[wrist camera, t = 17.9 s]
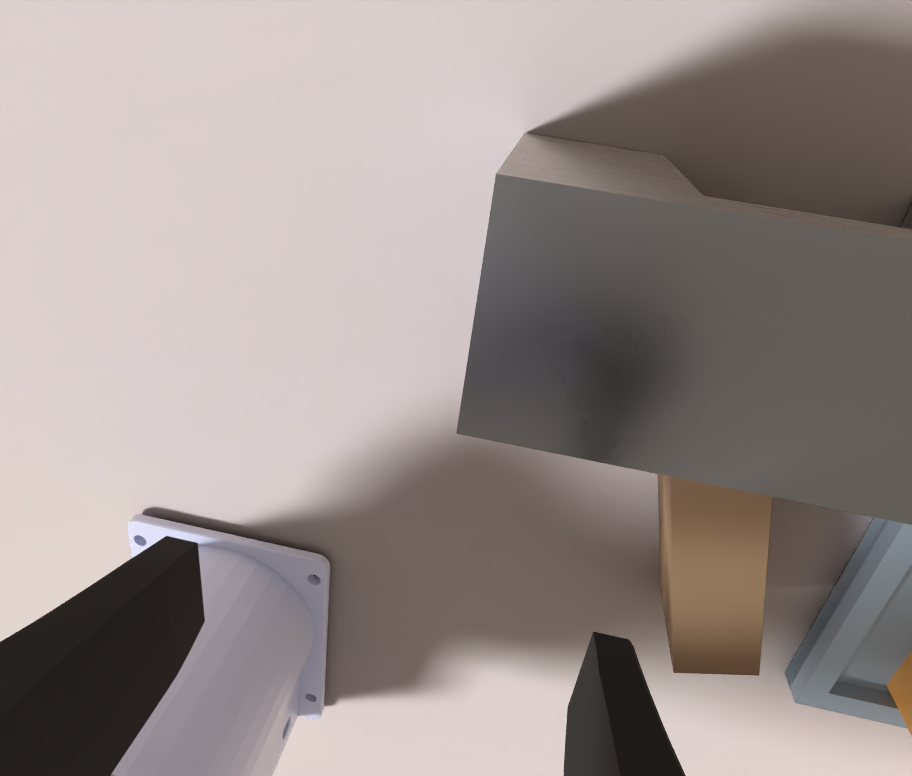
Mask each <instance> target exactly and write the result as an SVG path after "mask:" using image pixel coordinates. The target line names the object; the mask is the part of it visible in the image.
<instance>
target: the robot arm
mask: <svg viewBox="0 0 912 776" xmlns="http://www.w3.org/2000/svg"><path fill="white" fill-rule="evenodd" d="M127 529H128V535H129V541H130V547H131V554H132V559H130V560H129V561H127V562H126V563H124V564H123V565H121V566H120V567H118V568H117V569H115V570H114V571H112V572H111V573H109V574H108V575H106V576H105V577H103V578H102V579H100V580H99V581H97V582H96V583H94V584H92V585H91V586H89V587H88V588H86V589H85V590H83V591H82V592H80V593H79V594H77V595H76V596H74V597H72V598H71V599H69V600H68V601H66V602H65V603H63V604H61V605H60V606H58V607H57V608H55V609H54V610H52V611H51V612H49V613H47V614H46V615H44V616H43V617H41V618H39V619H38V620H36V621H35V622H33V623H31V624H30V625H28V626H26V627H25V628H23V629H21V630H20V631H18V632H16V633H15V634H13V635H11V636H10V637H8V638H6V639H5V640H3V641H1V642H0V776H272V775H273V773H274V770H275V768H276V766H277V763H278V761H279V759H280V756H281V754H282V751H283V749H284V747H285V744H286V742H287V740H288V737H289V735H290V733H291V730H292V728H293V725H294V723H295V721H296V718H297V716H301V717H305V718H309V719H318V718H319V717H321V715H322V712H323V709H324V698H325V675H326V652H327V629H328V606H329V583H330V563H329V561H328V560H327V558H325V557H324V556H323V555H320V554H317V553H312V552H308V551H303V550H299V549H294V548H290V547H285V546H281V545H276V544H272V543H267V542H263V541H258V540H254V539H249V538H245V537H240V536H236V535H231V534H227V533H222V532H218V531H213V530H209V529H204V528H200V527H195V526H191V525H186V524H182V523H177V522H173V521H168V520H164V519H160V518H155V517H151V516H146V515H135V516H134V517H133V518H132V519H131V520H130V521H129V522H128V524H127ZM314 575H316V576H318V577H315V576H314ZM564 776H685V774H684V771H683V769H682V767H681V765H680V762H679V760H678V758H677V756H676V754H675V751H674V749H673V747H672V745H671V742H670V740H669V738H668V735H667V733H666V731H665V728H664V726H663V724H662V721H661V719H660V716H659V714H658V711H657V709H656V706H655V704H654V701H653V699H652V696H651V694H650V691H649V688H648V686H647V683H646V680H645V678H644V675H643V672H642V669H641V667H640V664H639V661H638V658H637V655H636V652H635V649H634V646H633V645H632V643H631V642H630V640H628V639H624V638H619V637H615V636H610V635H606V634H602V633H597V632H593V634H592V637H591V640H590V643H589V646H588V649H587V652H586V655H585V658H584V660H583V663H582V666H581V669H580V672H579V675H578V678H577V681H576V684H575V687H574V690H573V693H572V696H571V699H570V702H569V705H568V711H567V726H566V741H565V758H564Z"/></svg>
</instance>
